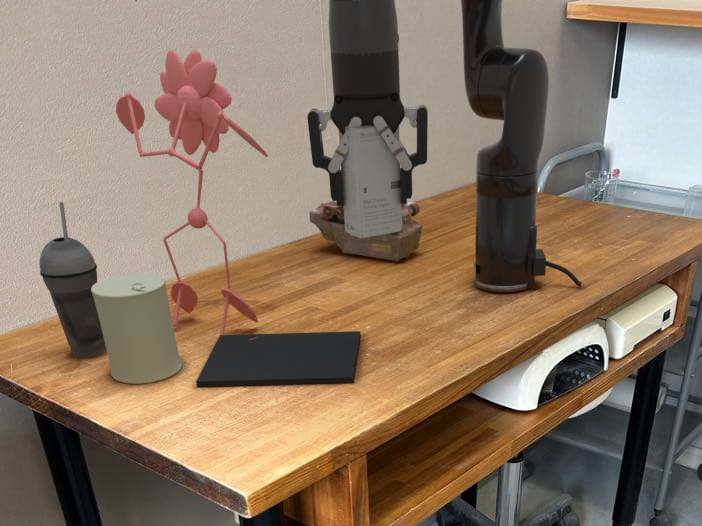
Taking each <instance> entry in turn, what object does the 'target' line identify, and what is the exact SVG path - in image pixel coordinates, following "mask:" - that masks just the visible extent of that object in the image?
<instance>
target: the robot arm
mask: <svg viewBox="0 0 702 526" xmlns="http://www.w3.org/2000/svg"><path fill="white" fill-rule="evenodd" d="M503 1H504V0H460V5H461V19H462V20H461V21H462V23H461V24H462V50H463V51H462V53H463V55H462V56H463V77H464V88H465V94H466V99H467V103H468V105H469V107H470V109H471V111H472V112H473V113H474V114H475V115H476V116H477V117H478V118H479V117H480V118H482V119H488V120H496V121H503V125H502V132H501V137H500V139H498V141H496V142H494V143H493V144H490V145H487V146H485V147H482V148H481V149H479V150H478V152H477V155H476V167H475V170H476V171H475V173H476V174H475V244H474V245H475V248H474V251H475V252H474V259H473V260H472V261H473V266H472V267H473V272H474V283H473V284H474V286H475V287H476V288H478V289H480V290H482V291H485V292H490V293H499V294H501V293H503V294H504V293H505V294H507V293H508V294H509V293H517V292H521V291H525V290H534V289H535V280H536V279H535V278H536V277H543V276H546V271H547V268H546V267H549V268H552V269H554V270H557V271H559V272H561V273H563V274H565V275H566V276H568V277H569V279H571V280H572V282H573V283H574V284H575V285H576V286H577V287H582V281H580V280H579V278H578V277H576V276H575V274H574V273H572V271H570V270H569V269H567V268H566V267H563V266H562V265H559V264H557V263H553V262H550V261H548V260H547V257H546V254H545V252H544V249H543V248H537V239H538V227H537V226H538V225H537V223H536V218H537V217H536V215H537V200H538V199H537V197H538V177H539V162H540V161H539V160H540V158H541V154H542V151H543V148H544V142H545V133H546V123H547V112H548V103H549V93H550V92H549V91H550V73H549V68H548V64H547V60H546V58H545V56H544V55H543V54H542V53H541V52H540V51H539V50H537V49H533V48H527V47H524V48H523V47H505V45H504V39H503V26H502V25H503V24H502V20H503V19H502V12H503V11H502V10H503ZM398 25H399V23H398V16H397V8H396V0H328V36H329V37H328V38H329V48H330V63H331V65H330V66H331V76H332V78H331V79H332V92H333V104H332V107H331V109H323V110H321V109H320V110H318V109H317V108H311V109H310V111H309V112H308V114H307V116H306V117H307V126H308V135H309V136H308V137H309V144H310V154H311V161H312V166H313V167H315V168H317V169H321V170H325V171H326V172H327V173H328V177H329V178H328V179H329V190H330V198H331V201H337V206H343V189H342V175H341V163H342V161H343V159H344V158H345V156H346V154H347V152H348V150H349V138H348V136H349V129H350V128H354V127H360V126H367V125H373V126H375V127H376V128H377V130H378V132H379V133H380V134H381V136H382V137H383V139H384V142H385V143H386V144H387V145H388V147H389V148H390V150H391V152H392V153H393V155H394V156H395V157H396V159H397V160H398V162H399V163H400V185H401V204H407V202H408V199H409V200H410V199H411V200H412V196H413V170H414V169H415V168H416V167H418V166H420V165H425V164H426V163H427V162H428V128H429V127H428V124H429V123H428V122H429V121H428V120H429V119H428V117H429V113H428V108H427V106H426V105H424V104H420V105H418V106H404V104H403V102H402V100H401V85H400V84H401V83H400V58H399V56H400V55H399V51H400V50H399V44H400V34H399V26H398ZM404 118H407V119H408V120H409V123H410V124H409V125H410V126H411V127H412V128H413V129H416V151H415V152H413V153H411V154H409V153H408V151H407V149H406V148H405V146H404V144H403V142H402V140H401V138H399V141H398V140H397V139H396V137H395V135H394V133H395V132H396V130H397V128H398V127H399V128H400V125H401V124H402V122H403V120H404ZM330 121H331V122H332V123H333V124H334V125H335V127H336V128H337V129H339V130H338V132H339V131H340V132H341V133H342V135H343V137H342V139H341V141H340V143H339V142H338V144H337V147H336V149H335V151H334V153H333V155H332V156H331V157H330V156H327V155H325V151H324V143H323V142H324V141H323V133H322V132H324V131H325V130H327V128H328V122H330ZM346 126H348V127H347V129H346V131H345V128H346ZM391 142H393V143H391ZM345 144H346V145H345Z"/></svg>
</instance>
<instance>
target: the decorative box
mask: <svg viewBox="0 0 702 526" xmlns="http://www.w3.org/2000/svg"><path fill="white" fill-rule="evenodd" d="M401 206H402V230H401V231H399V232H394V233H388V234H383V235H378V236H372V237H367V238H363V239H361V238H358V237H355V236H353V235H351V234H349V233H347V232H346V231H345V219H344V205H343V206H337V201H333V200H331V201H329V202H325V203H323V202H321V203H320V204H319V206H317V207H316V208H315V209H313V210H312V209H311V210H310V211H309V221H310V223H311V224H313V225H315V226H316V228H317V229H318V230H319V231H320V234H321V236H322V238H323V240H325V241H329V242H334V243H335V245H337V246H338V247H339V248H340V250H341V252H342V253H343V254H350V255H356V256H357V255H358V256H363V257H366V258H367V257H370V258H376V259H381V260H388V261H394V262H399V261H400V260H403V259H404V258H405V259H408V257H409V256H410V255H411V254H412V253H413V252H415V251H416V250H418V249H419V247H420V240H421V235H422V231H423V227H424V226H423V224H422V223H420V222H418V221H416V220H413V217H415V216H416V215H418V214H419V213H420V205H419V203H417V201H407V204H401Z"/></svg>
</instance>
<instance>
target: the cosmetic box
mask: <svg viewBox="0 0 702 526" xmlns="http://www.w3.org/2000/svg"><path fill="white" fill-rule="evenodd" d="M347 127H348V126H346V128H345V131H346V129H347ZM337 129H338V128H337ZM394 135H395V137H396V139H397V140H398V141H399V139H400V126H399V127H398V128H397V130H396V132H395V133H394ZM342 137H343V135H342V133H341V132H340V131H339V129H338V140H339V141H338V144H339V143H340V141H341V139H342ZM348 138H349V150H348V152H347V154H346V156H345V158H344V159H343V161H342V163H341V165H340V170H341V175H342V189H343V205H344V219H345V231H346V232H347V233H349V234H351V235H353V236H355V237H358V238H361V239H363V238H367V237H372V236H378V235H383V234H388V233H394V232H399V231H401V230H402V206H401V185H400V168H401V165H400V163H399V162H398V160H397V159H396V157H395V156H394V155H393V153H392V152H391V150H390V148H389V147H388V145H387V144H386V143H385V142H384V139H383V137H382V136H381V134H380V133H379V132H378V130H377V128H376V127H375V126H373V125H367V126H360V127H354V128H350V129H349V136H348ZM391 143H393V142H391ZM345 145H346V144H345Z"/></svg>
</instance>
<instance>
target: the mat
mask: <svg viewBox="0 0 702 526" xmlns="http://www.w3.org/2000/svg"><path fill="white" fill-rule="evenodd" d="M258 336H259V337H258ZM255 337H258V338H255ZM251 338H255V339H252V340H248V339H251ZM360 341H361V331H359V330H354V331H353V330H351V331H350V330H349V331H318V332H314V331H313V332H286V333H285V332H284V333H283V332H281V333H280V332H277V333H249V334H248V333H247V334H246V333H245V334H244V333H242V334H220V335H219V336H218V338H217V341H216V342H215V344H214V345H213V347H212V348H213V349H212V350H211V352H210V354H209V355H208V358H207V360H206V361H205V363H204V365H203V367H202V369H201V371H200V373H199V375H198V377H197V379H196V381H195V382H196V387H197V388H208V387H209V388H214V387H246V386H247V387H249V386H251V387H253V386H284V385H285V386H288V385H318V384H319V385H320V384H321V385H322V384H328V385H329V384H354V382H355V376H356V368H357V363H358V355H359V349H360V348H359V347H360Z"/></svg>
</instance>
